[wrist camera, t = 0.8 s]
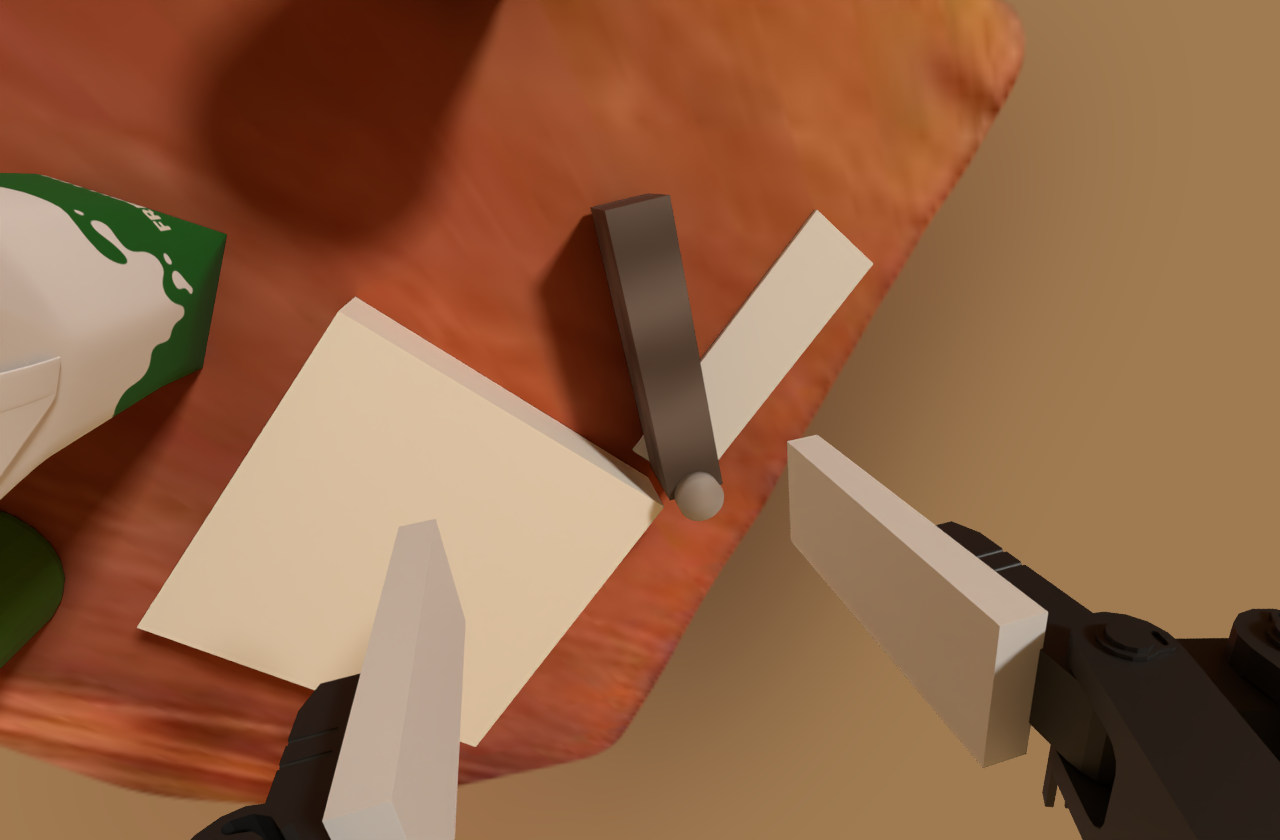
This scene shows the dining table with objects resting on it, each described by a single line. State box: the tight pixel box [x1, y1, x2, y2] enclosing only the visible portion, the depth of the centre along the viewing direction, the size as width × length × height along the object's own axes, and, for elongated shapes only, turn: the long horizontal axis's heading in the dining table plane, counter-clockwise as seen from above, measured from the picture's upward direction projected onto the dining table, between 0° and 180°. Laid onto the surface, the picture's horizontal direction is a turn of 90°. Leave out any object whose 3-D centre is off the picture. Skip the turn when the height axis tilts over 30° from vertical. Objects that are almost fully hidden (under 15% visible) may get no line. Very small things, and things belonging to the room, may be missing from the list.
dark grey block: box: [591, 194, 724, 521], centre depth 34 cm, size 17×3×6 cm, turn 13°
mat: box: [632, 210, 873, 461], centre depth 39 cm, size 5×18×1 cm, turn 143°
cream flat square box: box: [137, 297, 664, 747], centre depth 36 cm, size 20×20×4 cm
